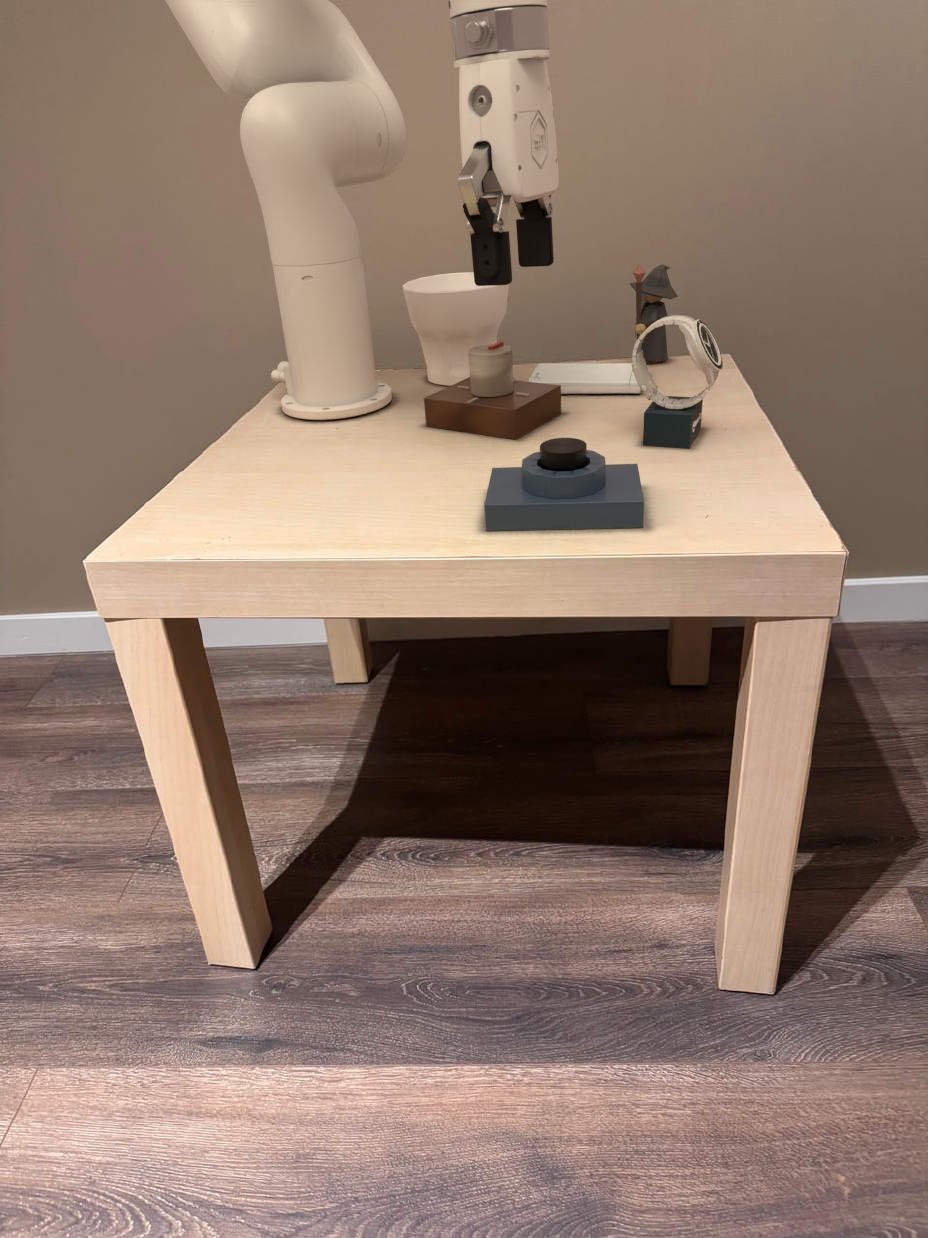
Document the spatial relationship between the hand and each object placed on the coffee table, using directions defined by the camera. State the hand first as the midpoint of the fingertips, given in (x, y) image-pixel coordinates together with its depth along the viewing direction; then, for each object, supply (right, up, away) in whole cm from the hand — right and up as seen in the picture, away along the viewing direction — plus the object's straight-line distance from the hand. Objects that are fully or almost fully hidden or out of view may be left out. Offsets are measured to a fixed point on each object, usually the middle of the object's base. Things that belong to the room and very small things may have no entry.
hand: (516, 274), depth 78 cm
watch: (+15, -13, +8) cm, 21 cm away
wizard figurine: (+18, +1, +31) cm, 36 cm away
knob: (-2, -6, +14) cm, 16 cm away
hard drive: (+10, -3, +25) cm, 27 cm away
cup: (-5, -1, +32) cm, 32 cm away
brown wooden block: (-1, -9, +16) cm, 18 cm away
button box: (+4, -21, -6) cm, 22 cm away
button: (+3, -18, -7) cm, 20 cm away
